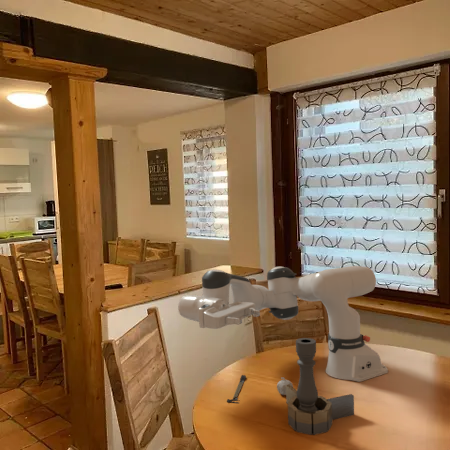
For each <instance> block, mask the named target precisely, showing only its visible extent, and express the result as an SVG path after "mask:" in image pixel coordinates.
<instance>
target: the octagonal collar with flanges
mask: <svg viewBox="0 0 450 450" xmlns="http://www.w3.org/2000/svg"><path fill="white" fill-rule="evenodd" d="M296 393H297V389H296V388H294V386H293V387H292V386H291V385H290V384H288V385H286V395H285V396H286V398H285V399H286V400H285V401H286V404H287V418H288V419H287V421H288V425H289V426H290V428H292V429H293V430H294V431H295V432H297V433H300V434H306V435H309V436H311V435H313V436H315V435H319V434H323V433H327V432H329V431H330V429H331V427H332V426H333V420H337V419H342V418H346V417H351V416H355V396H354V394H352V393H349V394H345V395H340V396H335V397H330V398H329V397H328V398H326V396H325V397H324V396H323V395H318V397H317V400H316V401H315V407H316V408H317V411H315V412H308V411H303V410H298V407H299V406H300V401H299V400H298V398H297V395H296Z"/></svg>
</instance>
